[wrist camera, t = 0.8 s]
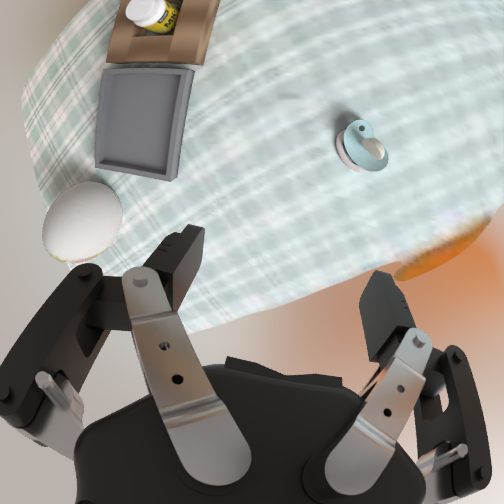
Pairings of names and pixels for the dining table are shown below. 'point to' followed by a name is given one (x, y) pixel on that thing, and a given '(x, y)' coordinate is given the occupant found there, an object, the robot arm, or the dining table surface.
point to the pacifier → (361, 148)
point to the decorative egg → (82, 222)
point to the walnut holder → (165, 47)
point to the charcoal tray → (142, 120)
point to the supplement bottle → (153, 15)
